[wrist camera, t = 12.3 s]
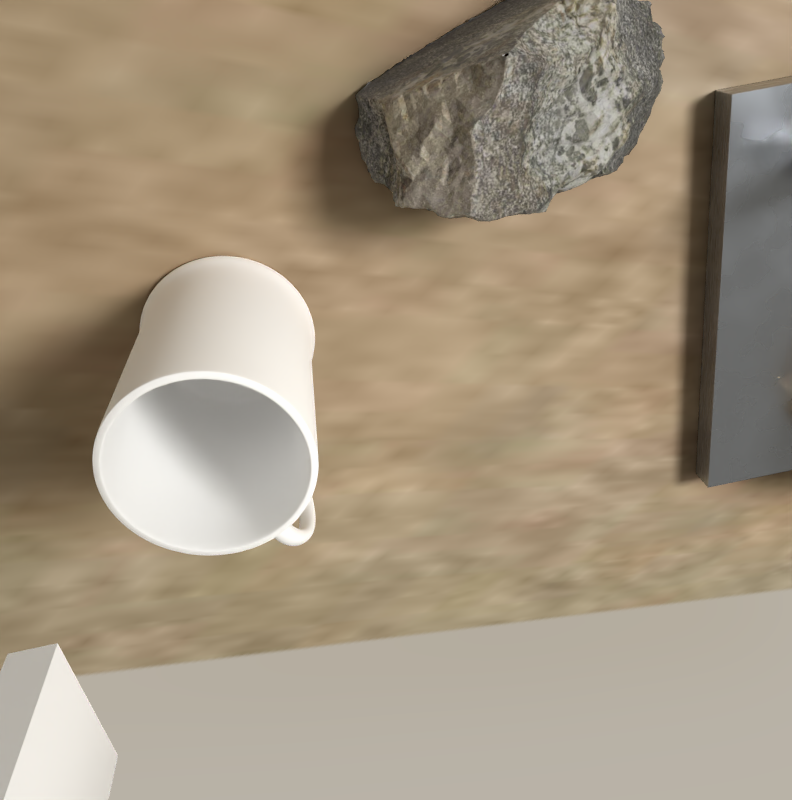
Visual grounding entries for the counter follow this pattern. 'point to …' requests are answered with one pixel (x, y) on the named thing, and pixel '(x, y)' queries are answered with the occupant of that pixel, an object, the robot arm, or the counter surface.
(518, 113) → the rock
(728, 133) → the carrier
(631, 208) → the counter surface
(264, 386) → the mug
